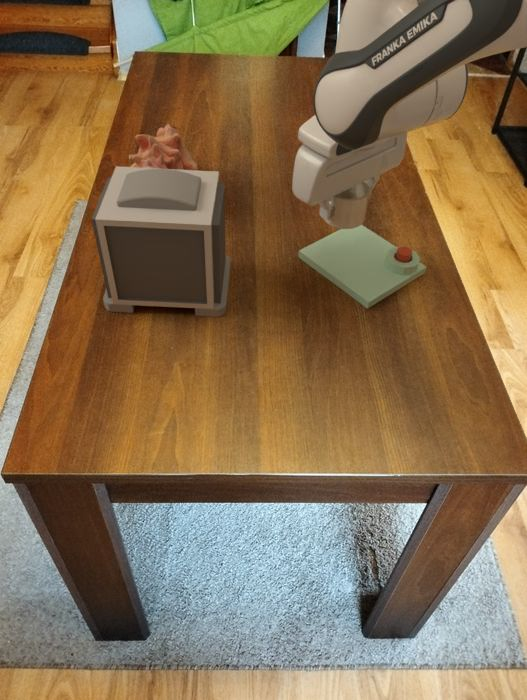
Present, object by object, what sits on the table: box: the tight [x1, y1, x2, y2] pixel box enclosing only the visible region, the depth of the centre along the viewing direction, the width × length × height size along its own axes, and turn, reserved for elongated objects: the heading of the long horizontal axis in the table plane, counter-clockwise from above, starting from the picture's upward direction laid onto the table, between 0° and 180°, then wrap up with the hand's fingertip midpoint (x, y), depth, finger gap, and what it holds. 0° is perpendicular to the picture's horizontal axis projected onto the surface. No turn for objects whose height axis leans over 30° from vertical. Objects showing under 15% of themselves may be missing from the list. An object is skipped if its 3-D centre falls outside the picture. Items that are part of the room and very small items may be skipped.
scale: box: [297, 223, 428, 309], centre depth 94 cm, size 16×14×3 cm
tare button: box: [395, 246, 413, 263], centre depth 92 cm, size 2×2×2 cm
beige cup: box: [323, 182, 370, 230], centre depth 87 cm, size 7×7×5 cm
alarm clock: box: [91, 165, 232, 318], centre depth 84 cm, size 18×13×18 cm
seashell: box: [128, 123, 199, 171], centre depth 103 cm, size 22×13×15 cm
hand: (344, 207), depth 88 cm, fingers closed on beige cup, 6 cm apart
